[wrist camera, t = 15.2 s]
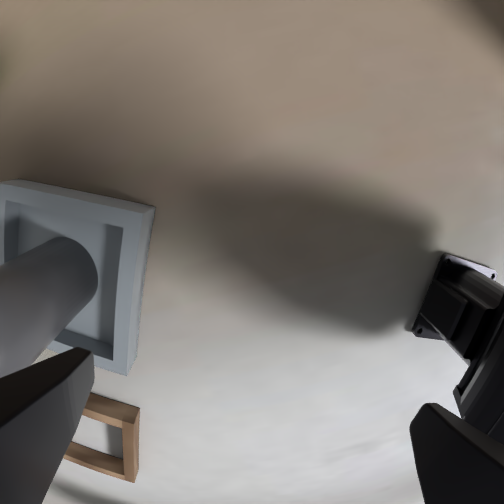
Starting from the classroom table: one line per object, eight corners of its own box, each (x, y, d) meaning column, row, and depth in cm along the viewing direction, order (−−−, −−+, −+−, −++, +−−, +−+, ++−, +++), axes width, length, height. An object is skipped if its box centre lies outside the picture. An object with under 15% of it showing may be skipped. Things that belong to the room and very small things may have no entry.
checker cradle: (139, 408, 23) (133, 424, 21) (138, 468, 26) (134, 483, 24) (37, 371, 22) (27, 384, 20) (52, 438, 25) (45, 450, 23)
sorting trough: (155, 206, 19) (143, 213, 16) (136, 356, 22) (126, 376, 19) (18, 178, 18) (-3, 182, 15) (17, 314, 21) (1, 328, 18)
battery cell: (111, 271, 19) (-33, 421, 5) (78, 320, 20) (-36, 462, 6) (56, 221, 18) (-118, 308, 4) (29, 274, 19) (-108, 378, 5)
